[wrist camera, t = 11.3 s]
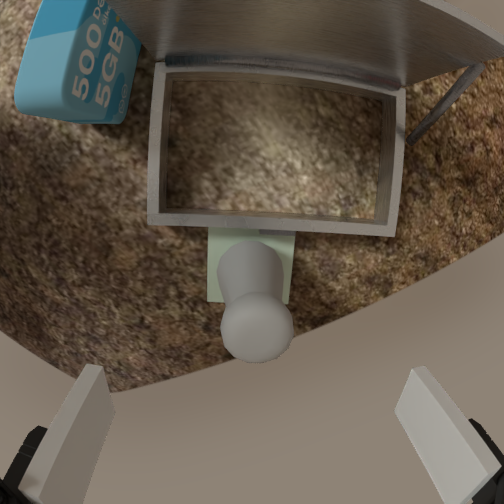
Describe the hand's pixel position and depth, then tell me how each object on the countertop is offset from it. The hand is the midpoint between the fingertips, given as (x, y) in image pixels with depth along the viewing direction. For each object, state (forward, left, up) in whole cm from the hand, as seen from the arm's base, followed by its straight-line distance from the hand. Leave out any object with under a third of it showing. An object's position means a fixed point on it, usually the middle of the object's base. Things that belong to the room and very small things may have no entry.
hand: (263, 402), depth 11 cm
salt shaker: (0, 0, -19) cm, 19 cm away
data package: (-14, +19, -19) cm, 30 cm away
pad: (0, 0, -19) cm, 19 cm away
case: (+2, +11, -19) cm, 22 cm away
